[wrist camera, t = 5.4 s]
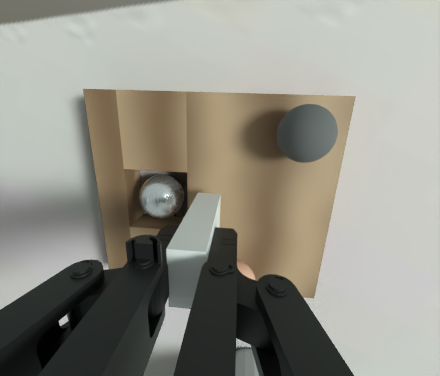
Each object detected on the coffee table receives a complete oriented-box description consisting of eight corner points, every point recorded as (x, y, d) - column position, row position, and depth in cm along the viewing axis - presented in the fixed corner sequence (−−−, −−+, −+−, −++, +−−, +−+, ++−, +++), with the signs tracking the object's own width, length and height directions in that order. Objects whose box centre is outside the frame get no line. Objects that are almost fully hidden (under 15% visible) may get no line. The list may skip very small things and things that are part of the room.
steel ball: (131, 217, 17) (161, 230, 15) (127, 175, 16) (158, 184, 14) (164, 204, 20) (192, 214, 18) (162, 168, 19) (193, 175, 17)
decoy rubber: (270, 156, 14) (278, 166, 11) (275, 104, 14) (286, 100, 10) (320, 158, 14) (341, 169, 11) (329, 106, 13) (355, 102, 10)
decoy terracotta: (213, 283, 18) (208, 316, 15) (214, 249, 17) (209, 277, 14) (252, 286, 18) (255, 321, 15) (256, 252, 17) (260, 282, 14)
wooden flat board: (125, 261, 21) (110, 279, 19) (105, 93, 17) (83, 89, 14) (305, 276, 20) (313, 298, 18) (337, 99, 15) (355, 96, 13)
